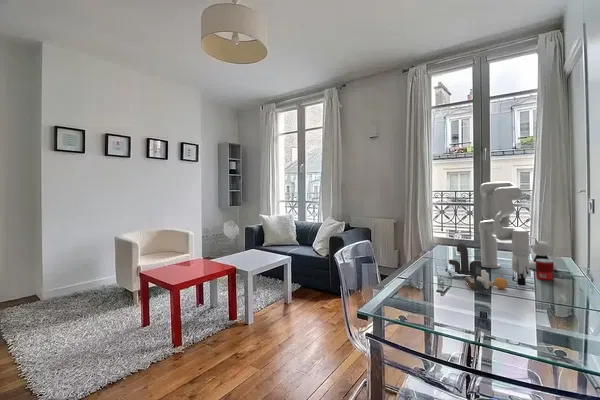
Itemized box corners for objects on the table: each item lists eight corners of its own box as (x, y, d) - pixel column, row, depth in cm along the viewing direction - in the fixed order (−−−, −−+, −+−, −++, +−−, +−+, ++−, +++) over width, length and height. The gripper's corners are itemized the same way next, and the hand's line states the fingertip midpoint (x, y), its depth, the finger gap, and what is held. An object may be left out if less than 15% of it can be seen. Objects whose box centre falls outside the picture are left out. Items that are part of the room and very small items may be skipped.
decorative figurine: (542, 264, 198) (541, 235, 197) (562, 270, 183) (562, 239, 182) (521, 266, 197) (520, 236, 196) (539, 272, 182) (539, 241, 181)
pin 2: (483, 287, 165) (483, 272, 165) (488, 287, 164) (488, 272, 164) (485, 288, 163) (484, 273, 162) (490, 288, 162) (489, 273, 162)
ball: (495, 274, 164) (506, 277, 164) (490, 283, 165) (500, 286, 165) (501, 279, 158) (512, 283, 158) (495, 288, 160) (506, 292, 159)
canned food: (557, 280, 167) (556, 261, 167) (541, 280, 169) (540, 262, 168) (548, 276, 175) (548, 258, 174) (533, 276, 177) (532, 258, 176)
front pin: (491, 286, 166) (475, 279, 168) (493, 282, 166) (477, 275, 168) (492, 287, 164) (477, 280, 166) (494, 283, 164) (478, 276, 166)
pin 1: (481, 284, 170) (480, 269, 170) (485, 284, 169) (485, 269, 169) (482, 285, 168) (481, 271, 167) (487, 285, 167) (486, 271, 167)
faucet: (475, 269, 197) (474, 240, 196) (483, 277, 182) (482, 245, 181) (445, 269, 202) (444, 240, 201) (451, 276, 186) (449, 245, 185)
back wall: (465, 282, 174) (465, 275, 174) (469, 282, 174) (469, 276, 173) (471, 289, 163) (471, 282, 163) (475, 289, 162) (475, 282, 162)
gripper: (507, 249, 168) (508, 280, 169) (518, 255, 154) (519, 289, 155) (522, 249, 166) (523, 280, 167) (535, 255, 152) (536, 290, 153)
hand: (521, 285), depth 161 cm, fingers closed
